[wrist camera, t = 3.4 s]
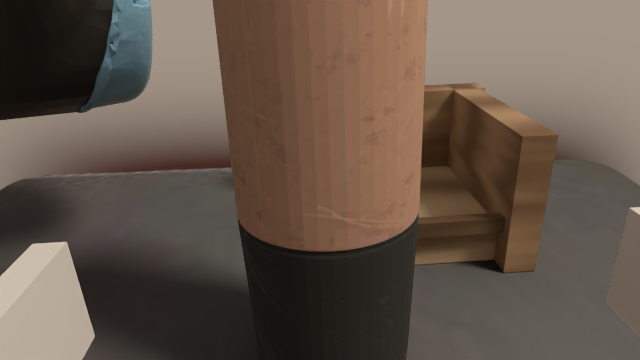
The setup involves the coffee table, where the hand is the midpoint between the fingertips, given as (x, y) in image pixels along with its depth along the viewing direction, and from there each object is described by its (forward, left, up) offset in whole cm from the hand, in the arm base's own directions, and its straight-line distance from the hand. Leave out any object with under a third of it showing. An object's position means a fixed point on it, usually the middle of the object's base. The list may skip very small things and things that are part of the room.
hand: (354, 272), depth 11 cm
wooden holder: (-6, +21, -11) cm, 25 cm away
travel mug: (-4, +7, -11) cm, 14 cm away
